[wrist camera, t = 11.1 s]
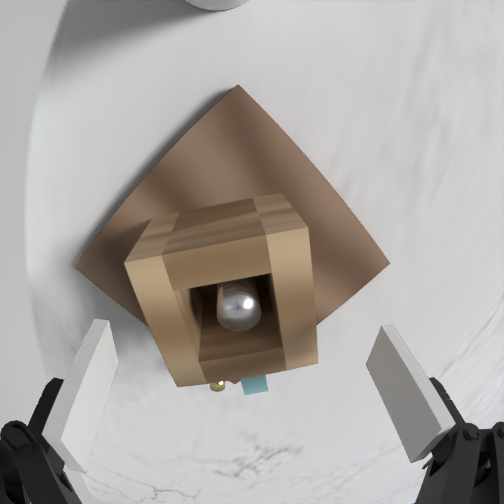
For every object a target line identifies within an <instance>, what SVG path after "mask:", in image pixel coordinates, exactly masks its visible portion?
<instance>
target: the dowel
mask: <svg viewBox="0 0 504 504" xmlns="http://www.w3.org/2000/svg"><path fill="white" fill-rule="evenodd" d="M224 388H225V381H223V382H216V383H210V389H211V390H213V391H216V392H219V391H222V390H224Z"/></svg>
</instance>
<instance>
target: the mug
mask: <svg viewBox="0 0 504 504" xmlns="http://www.w3.org/2000/svg"><path fill="white" fill-rule="evenodd" d="M185 1H186V2H188V3H189V4H191V5H193V6H195V7H198V8H201V9H206V10H227V9H231V8H235V7H238V6H240V5H242V4H244V3H246V2H248V1H249V0H185Z"/></svg>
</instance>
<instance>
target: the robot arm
mask: <svg viewBox="0 0 504 504" xmlns="http://www.w3.org/2000/svg"><path fill="white" fill-rule="evenodd" d="M118 364H119V360H118V357H117V353H116V349H115V345H114V340H113V336H112V332H111V327H110V323H109V320H102V319H94V320H93V322H92V324H91V326H90V328H89V330H88V332H87V334H86V336H85V338H84V340H83V342H82V344H81V346H80V348H79V350H78V352H77V354H76V356H75V358H74V360H73V362H72V364H71V366H70V369H69V371H68V373H67V375H66V377H65V379H64V380H63V379H58V378H53V379H52V380H51V381H50V382H49V383H48V384H47V385H46V387H45V389H44V391H43V393H42V397H40V399H39V402H38V404H37V406H36V408H35V410H34V413H33V415H32V418H31V420H30V422H29V424H28V427H27V426H26V424H24V423H23V422H21V421H17V420H16V421H10V422H9V423H7V424H5V425H4V427H3V428H2V430H1V433H0V438H1V440H0V504H30V502H31V504H82V503H81V501H80V499H79V498H78V496H77V494H76V493H75V491H74V489H73V487H72V485H71V484H70V482H69V480H68V478H67V476H66V474H65V472H64V471H63V467H64V464H66V465H67V466H68V467H69V469H72V470H75V471H78V472H82V473H86V474H87V471H88V467H89V463H90V459H91V455H92V451H93V447H94V443H95V439H96V436H97V432H98V428H99V425H100V421H101V418H102V414H103V411H104V408H105V404H106V401H107V398H108V394H109V391H110V388H111V385H112V382H113V379H114V376H115V373H116V370H117V367H118ZM366 366H367V368H368V370H369V372H370V375H371V377H372V379H373V381H374V383H375V385H376V387H377V389H378V391H379V393H380V396H381V398H382V400H383V402H384V404H385V406H386V408H387V411H388V413H389V415H390V417H391V419H392V422H393V424H394V426H395V428H396V430H397V433H398V435H399V437H400V439H401V442H402V444H403V446H404V449H405V451H406V453H407V456H408V458H409V460H410V463H413V462H416V461H419V460H422V459H424V458H425V457H426V456H427V455H428V454H429V453H430V452H431V453H432V455H433V457H432V458H431V459H430V460H429V461H428V462H427V463H426V464H425V465H424V466H423V468H422V469H425V468H426V467H427V466H428V468H427V471H426V474H425V477H424V480H423V483H422V486H421V489H420V492H419V494H418V497H417V500H416V502H415V504H504V422H497V423H496V424H495V425H494V426H493V427H492V428H491V429H479V428H478V427H477V426H476V425H474V424H472V423H465V421H464V420H463V418H462V416H461V415H460V413H459V411H458V410H457V408H456V406H455V405H454V403H453V402H452V400H450V397H449V395H448V393H446V390H445V389H444V387H443V386H442V384H441V383H440V382H439V381H437V380H436V379H435V378H434V377H432V378H428V376H427V375H426V373H425V372H424V370H423V369H422V367H421V365H420V364H419V362H418V361H417V359H416V358H415V356H414V355H413V353H412V352H411V350H410V349H409V347H408V345H407V344H406V342H405V341H404V339H403V338H402V336H401V335H400V334H399V332H398V331H397V329H396V328H395V326H394V325H386V326H381V328H380V331H379V333H378V336H377V338H376V341H375V343H374V346H373V348H372V351H371V353H370V356H369V358H368V360H367V363H366ZM488 462H490V467H489V465H488Z"/></svg>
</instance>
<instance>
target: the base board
mask: <svg viewBox="0 0 504 504" xmlns="http://www.w3.org/2000/svg"><path fill="white" fill-rule="evenodd" d="M277 193H282V194H283V195H284V197H285V198H286V199H287V200H288V202H289V203H290V204H291V206H292V207H293V208H294V209H295V211H296V212H297V213H298V215H299V216H300V217H301V218H302V220H303V221H304V222H305V224H306V225H307V226H308V231H309V241H310V251H311V262H312V274H313V286H314V299H315V314H316V325H318V324H319V323H320V322H321V321H323V320H324V319H325V318H326V317H328V316H329V315H330V314H331V313H333V312H334V311H335V310H336V309H338V308H339V307H340V306H341V305H342V304H344V303H345V302H346V301H347V300H349V299H350V298H351V297H352V296H353V295H354V294H356V293H357V292H358V291H359V290H360V289H362V288H363V287H364V286H365V285H366V284H367V283H369V282H370V281H371V280H372V279H373V278H374V277H375V276H377V275H378V274H379V273H380V272H381V271H382V270H383V269H384V268H385V267H387V266H388V265H389V264H390V262H389V261H388V259H387V258H386V257H385V255H384V254H383V252H382V251H381V250H380V248H379V247H378V245H377V244H376V243H375V241H374V240H373V239H372V237H371V236H370V234H369V233H368V232H367V230H366V229H365V228H364V226H363V225H362V224H361V223H360V221H359V220H358V219H357V217H356V216H355V215H354V213H353V212H352V211H351V210H350V208H349V207H348V206H347V204H346V203H345V202H344V201H343V199H342V198H341V197H340V196H339V194H338V193H337V192H336V191H335V190H334V188H333V187H332V186H331V185H330V183H329V182H328V181H327V180H326V179H325V177H324V176H323V175H322V174H321V173H320V171H319V170H318V169H317V168H316V167H315V166H314V164H313V163H312V162H311V161H310V160H309V159H308V158H307V156H306V155H305V154H304V153H303V152H302V151H301V150H300V148H299V147H298V146H297V145H296V144H295V143H294V142H293V141H292V139H291V138H290V137H289V136H288V135H287V134H286V133H285V132H284V131H283V130H282V129H281V128H280V126H279V125H278V124H277V123H276V122H275V121H274V120H273V119H272V118H271V117H270V116H269V115H268V114H267V113H266V112H265V111H264V110H263V109H262V108H261V107H260V105H259V104H258V103H257V102H256V101H255V100H254V99H253V98H252V97H251V96H250V95H249V94H248V93H247V92H246V91H245V90H244V89H243V88H242V87H241V86H239V85H237V86H235V87H234V88H233V89H232V90H231V91H230V92H229V93H228V94H227V95H225V96H224V97H223V98H222V99H221V100H220V101H219V102H218V103H217V104H216V105H215V106H213V107H212V108H211V109H210V110H209V111H208V112H207V113H206V114H205V115H204V116H203V117H202V118H201V119H200V120H199V121H198V122H197V123H196V124H195V125H194V126H193V127H192V128H191V129H190V130H189V131H188V132H187V133H186V134H185V135H184V136H183V137H182V138H181V139H180V140H179V141H178V142H177V143H176V144H175V145H174V146H173V147H172V148H171V149H170V150H169V151H168V152H167V154H166V155H165V156H164V157H163V158H162V159H161V160H160V161H159V162H158V163H157V164H156V165H155V167H154V168H153V169H152V170H151V171H150V172H149V173H148V174H147V176H146V177H145V178H144V179H143V180H142V181H141V182H140V184H139V185H138V186H137V187H136V188H135V189H134V191H133V192H132V193H131V194H130V195H129V196H128V198H127V199H126V200H125V201H124V202H123V204H122V205H121V206H120V207H119V209H118V210H117V211H116V212H115V214H114V215H113V216H112V217H111V219H110V220H109V221H108V222H107V224H106V225H105V226H104V228H103V229H102V230H101V232H100V233H99V234H98V235H97V237H96V238H95V239H94V241H93V242H92V243H91V245H90V246H89V248H88V249H87V250H86V252H85V253H84V254H83V256H82V257H81V259H80V260H79V262H78V263H77V264H76V266H75V267H76V268H77V269H78V270H79V271H80V272H81V273H82V274H84V275H85V276H86V277H87V278H88V279H89V280H90V281H92V282H93V283H94V284H95V285H96V286H98V287H99V288H100V289H101V290H102V291H104V292H105V293H106V294H107V295H108V296H110V297H111V298H112V299H113V300H115V301H116V302H117V303H118V304H120V305H121V306H122V307H123V308H125V309H126V310H127V311H129V312H130V313H131V314H132V315H134V316H135V317H136V318H138V319H139V320H140V321H142V322H143V323H144V324H146V325H147V326H148V323H147V321H146V319H145V316H144V314H143V311H142V309H141V306H140V304H139V301H138V299H137V296H136V294H135V291H134V289H133V286H132V283H131V281H130V278H129V275H128V273H127V270H126V267H125V264H124V262H125V260H126V259H127V257H128V255H129V254H130V252H131V251H132V249H133V248H134V246H135V244H136V243H137V241H138V240H139V238H140V237H141V235H142V234H143V232H144V230H145V229H146V227H147V226H148V224H149V223H150V221H151V220H152V218H157V217H161V216H166V215H170V214H175V213H179V212H184V211H189V210H193V209H198V208H203V207H208V206H213V205H218V204H223V203H228V202H233V201H238V200H244V199H249V198H255V197H260V196H266V195H271V194H277ZM254 277H255V282H256V287H257V289H258V288H264V287H267V281H266V275H265V274H263V275H258V276H254ZM200 289H201V293H202V296H203V299H204V298H210V297H215V296H217V283H215V284H210V285H204V286H200ZM148 327H149V326H148ZM239 381H241V380H240V379H237V380H230V382H232V383H233V384H236V383H238V382H239Z"/></svg>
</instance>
